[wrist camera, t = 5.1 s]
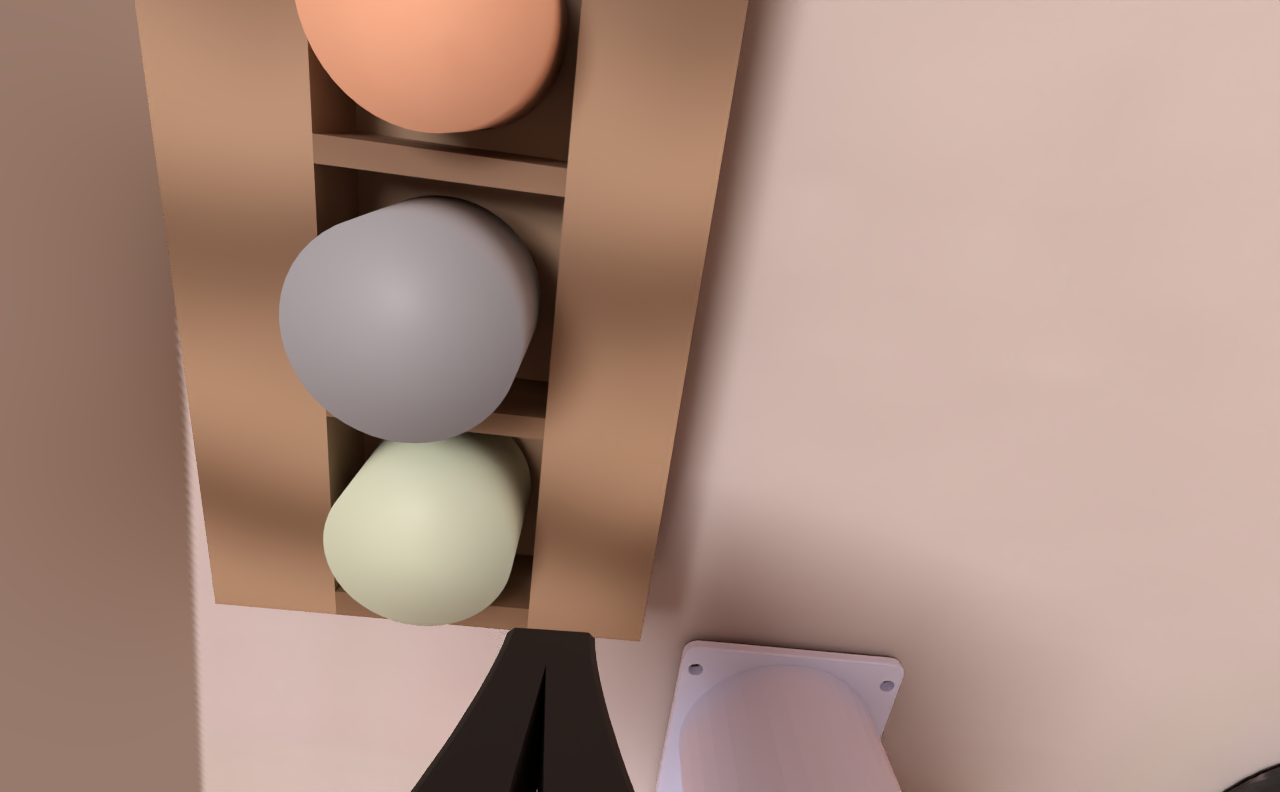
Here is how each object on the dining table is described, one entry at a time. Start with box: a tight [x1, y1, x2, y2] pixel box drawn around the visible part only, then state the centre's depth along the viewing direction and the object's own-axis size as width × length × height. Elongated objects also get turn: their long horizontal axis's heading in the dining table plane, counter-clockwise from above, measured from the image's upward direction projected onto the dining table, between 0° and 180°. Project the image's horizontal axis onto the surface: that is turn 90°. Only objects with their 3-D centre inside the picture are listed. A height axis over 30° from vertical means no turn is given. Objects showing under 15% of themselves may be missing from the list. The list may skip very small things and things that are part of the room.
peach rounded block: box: [295, 0, 568, 133], centre depth 13 cm, size 5×5×4 cm
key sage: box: [323, 432, 531, 626], centre depth 18 cm, size 5×5×4 cm
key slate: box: [279, 195, 541, 443], centre depth 15 cm, size 5×5×4 cm
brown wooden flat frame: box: [135, 0, 749, 641], centre depth 17 cm, size 19×12×3 cm, turn 172°
